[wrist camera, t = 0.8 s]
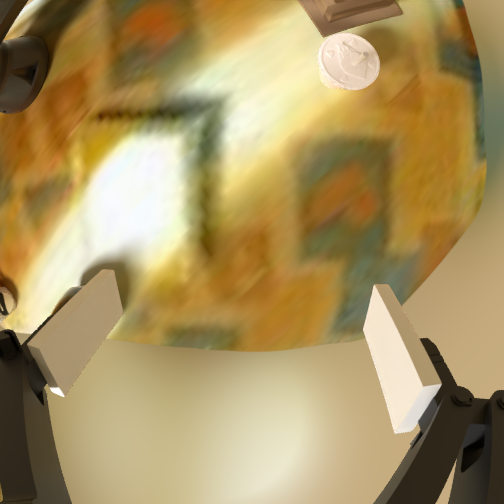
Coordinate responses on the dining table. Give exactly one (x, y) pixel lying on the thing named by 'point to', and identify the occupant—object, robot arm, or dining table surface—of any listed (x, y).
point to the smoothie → (347, 62)
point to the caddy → (347, 13)
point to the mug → (6, 303)
